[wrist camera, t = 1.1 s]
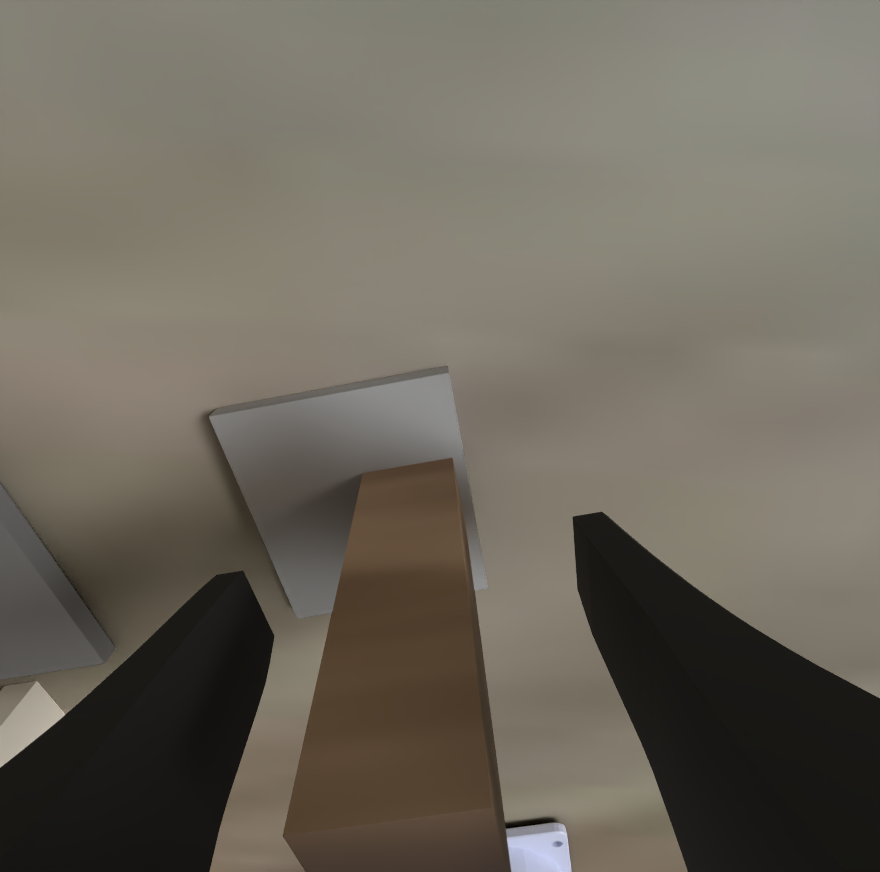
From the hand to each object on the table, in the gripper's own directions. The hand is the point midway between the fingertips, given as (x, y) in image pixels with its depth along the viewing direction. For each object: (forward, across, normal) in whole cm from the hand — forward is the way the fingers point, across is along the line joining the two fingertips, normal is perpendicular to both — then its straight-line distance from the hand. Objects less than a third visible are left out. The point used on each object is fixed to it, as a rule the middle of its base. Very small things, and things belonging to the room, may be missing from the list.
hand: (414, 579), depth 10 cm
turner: (+4, +2, 0) cm, 4 cm away
